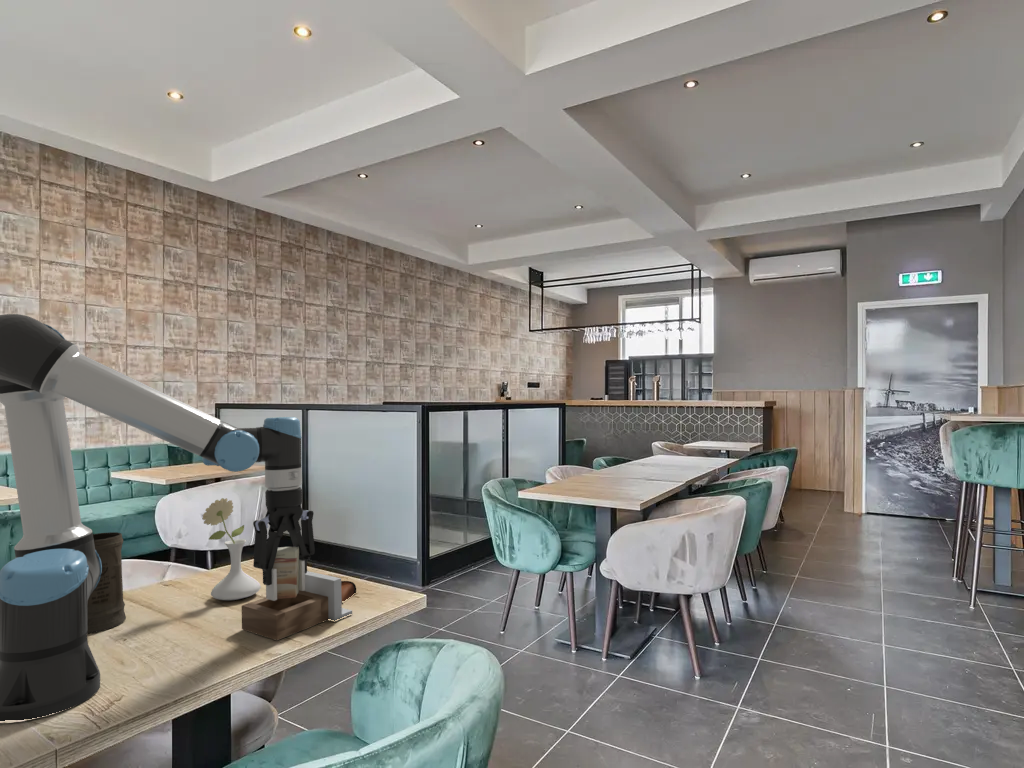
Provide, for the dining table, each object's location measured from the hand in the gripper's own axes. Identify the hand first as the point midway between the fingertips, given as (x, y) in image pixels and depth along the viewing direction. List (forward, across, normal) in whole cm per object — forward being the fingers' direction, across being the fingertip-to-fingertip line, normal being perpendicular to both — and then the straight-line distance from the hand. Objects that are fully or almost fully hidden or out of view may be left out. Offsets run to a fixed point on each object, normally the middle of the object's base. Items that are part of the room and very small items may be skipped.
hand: (286, 594), depth 129 cm
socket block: (+7, 0, 0) cm, 7 cm away
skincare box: (+1, 0, 0) cm, 1 cm away
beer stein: (+7, -21, +40) cm, 46 cm away
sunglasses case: (+7, +15, +9) cm, 19 cm away
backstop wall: (+7, +9, 0) cm, 11 cm away
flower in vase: (+7, +5, +28) cm, 29 cm away
